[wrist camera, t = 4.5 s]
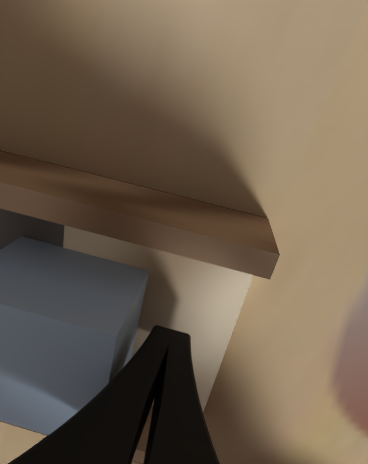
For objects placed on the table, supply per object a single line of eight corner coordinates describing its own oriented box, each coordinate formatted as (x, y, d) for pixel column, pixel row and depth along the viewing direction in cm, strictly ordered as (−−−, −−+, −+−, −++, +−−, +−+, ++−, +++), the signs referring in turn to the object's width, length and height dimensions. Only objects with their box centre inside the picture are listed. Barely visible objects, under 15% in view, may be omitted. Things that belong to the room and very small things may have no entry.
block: (149, 271, 11) (116, 336, 8) (129, 367, 13) (97, 450, 10) (21, 236, 12) (-60, 286, 8) (21, 336, 14) (-44, 407, 10)
